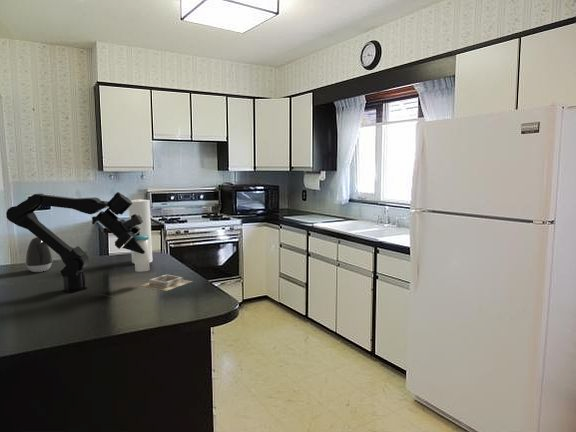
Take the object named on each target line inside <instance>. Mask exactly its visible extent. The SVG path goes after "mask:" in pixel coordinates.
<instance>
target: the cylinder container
mask: <svg viewBox="0 0 576 432" xmlns="http://www.w3.org/2000/svg"><path fill="white" fill-rule="evenodd" d="M130 201H131V202H132V203H133V204H132V205H131V206H130V207H129V208H128V211H129V212H128V215H129V217H128V218H129V219H131V216H132V215H134V214H136V215H140V217H142V218H141V219H142V221H143V223H141V224H139V225H136V226H137V227H139V228H140V230H139V231H140V235H148V236H149V239H148V245H149V263H152V262H153V247H152V246H153V244H152V240H153V239H152V224H151V202H150V199H141V198H140V199H132V200H131V199H130ZM129 219H128V220H129ZM139 231H138V232H139ZM138 232H137V233H138ZM130 251H131V250H130ZM131 264H134V265H135V256H134V251H131Z"/></svg>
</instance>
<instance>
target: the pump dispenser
mask: <svg viewBox="0 0 576 432" xmlns="http://www.w3.org/2000/svg"><path fill="white" fill-rule="evenodd" d="M50 249H51V248H50V247H49V246H48V245H46V244H45V243H44V242H43V241H41V240H40V239H39V238H38V237H33V238H32V239H31V240H30V241H29V244H28V246H27V249H26V254H25V265H26V268H27V269H28V271H30V272H32V273H43V271H44V272H46V271H48V270H49V269H50V268H51V267H52V263H53V256H52V252H51V250H50Z"/></svg>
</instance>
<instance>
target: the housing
mask: <svg viewBox="0 0 576 432" xmlns="http://www.w3.org/2000/svg"><path fill="white" fill-rule="evenodd" d="M193 282H194V281H193V280H188V279H184V276H179V275H172V274H163V275H160V276H157V277H154V278H151V279H148V282H147V283H144V284H141V285H139V286H140V287H144V288H145V287H146V288H149V289H154V290H160V291H164V292H168V291H171V290H173V289H176V288H178V287H181V286H184V285H187V284H190V283H193Z"/></svg>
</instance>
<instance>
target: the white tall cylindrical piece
mask: <svg viewBox="0 0 576 432" xmlns="http://www.w3.org/2000/svg"><path fill="white" fill-rule="evenodd" d="M135 238H136V242H137V243H138V244H139V245H140V246H141V248H142V249H143V250H144V251H145V253H144V254H141V253H138V252H135V251H134V256H135V264H134V271H135V272H141V273H142V272H146V271H147V272H148V271H150V262H149V245H148V239H149V236H148V235H137V236H135Z"/></svg>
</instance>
